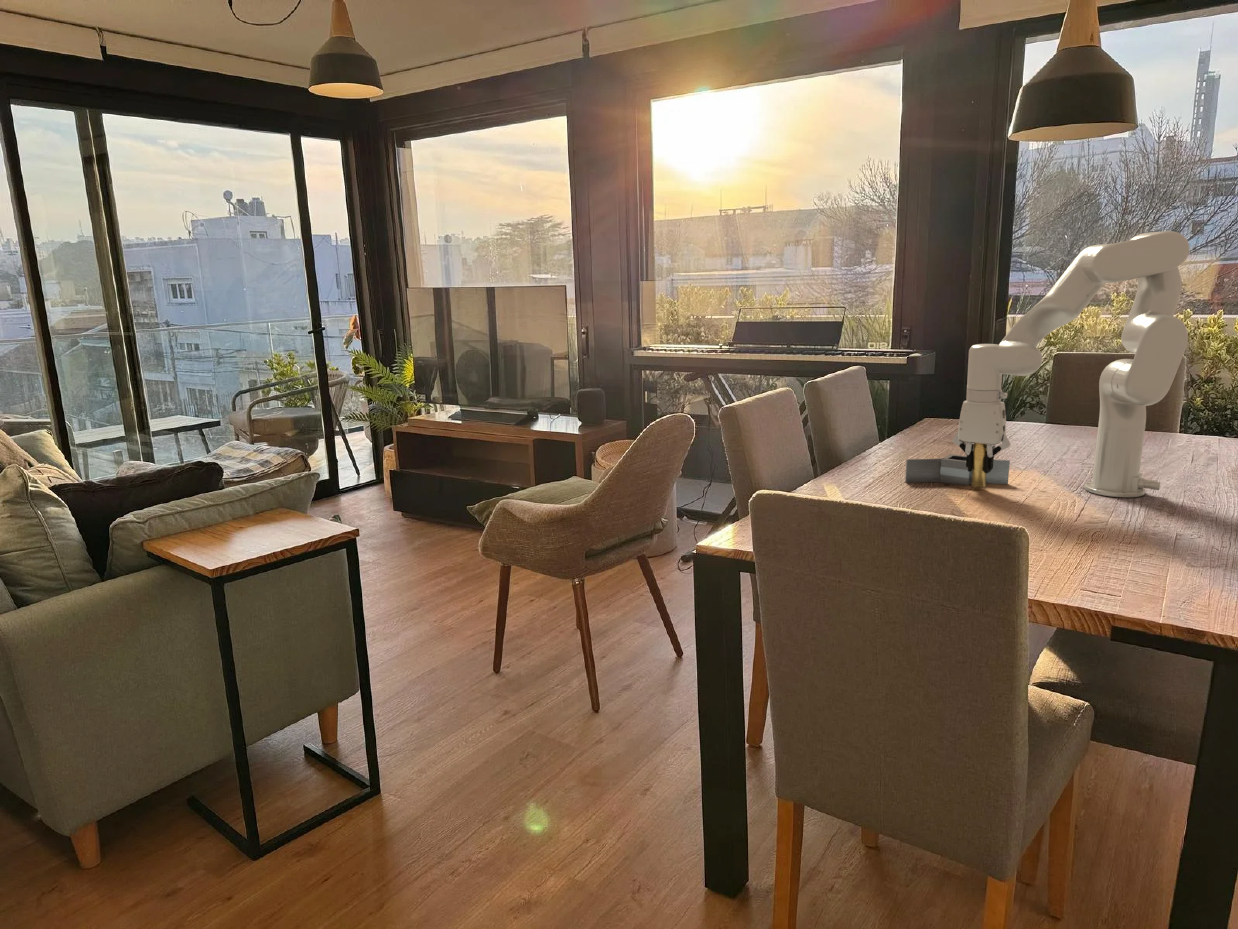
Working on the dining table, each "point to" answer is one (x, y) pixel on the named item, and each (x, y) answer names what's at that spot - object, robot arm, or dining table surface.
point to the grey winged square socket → (952, 471)
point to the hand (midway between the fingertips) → (979, 470)
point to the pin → (979, 465)
